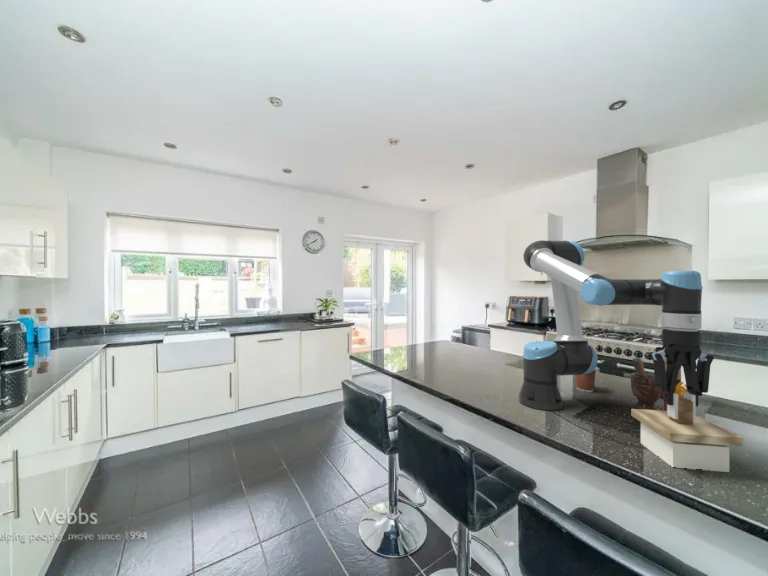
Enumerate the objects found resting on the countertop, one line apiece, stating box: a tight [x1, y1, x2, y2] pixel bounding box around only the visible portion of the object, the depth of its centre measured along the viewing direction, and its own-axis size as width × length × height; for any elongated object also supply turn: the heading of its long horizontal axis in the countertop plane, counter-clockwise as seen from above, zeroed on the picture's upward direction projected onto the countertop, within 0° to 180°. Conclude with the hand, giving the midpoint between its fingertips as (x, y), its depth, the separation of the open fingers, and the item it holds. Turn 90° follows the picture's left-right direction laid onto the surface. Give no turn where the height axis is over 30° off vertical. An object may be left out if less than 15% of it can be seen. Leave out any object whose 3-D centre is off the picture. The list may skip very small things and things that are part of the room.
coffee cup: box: [574, 366, 598, 393], centre depth 134 cm, size 9×9×12 cm
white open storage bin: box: [640, 422, 730, 473], centre depth 81 cm, size 12×12×6 cm
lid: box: [630, 397, 744, 447], centre depth 81 cm, size 15×15×8 cm
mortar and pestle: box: [629, 357, 662, 410], centre depth 109 cm, size 12×9×20 cm
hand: (681, 417), depth 81 cm, fingers closed on lid, 3 cm apart
